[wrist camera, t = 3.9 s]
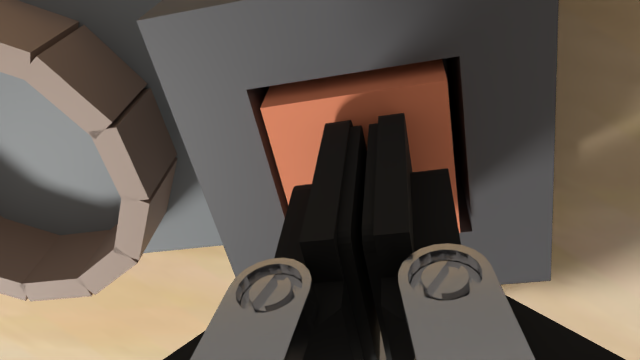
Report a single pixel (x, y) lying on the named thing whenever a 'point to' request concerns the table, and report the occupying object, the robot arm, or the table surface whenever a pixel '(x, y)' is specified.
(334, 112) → the switch button
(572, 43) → the table surface
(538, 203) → the panel
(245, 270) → the robot arm
